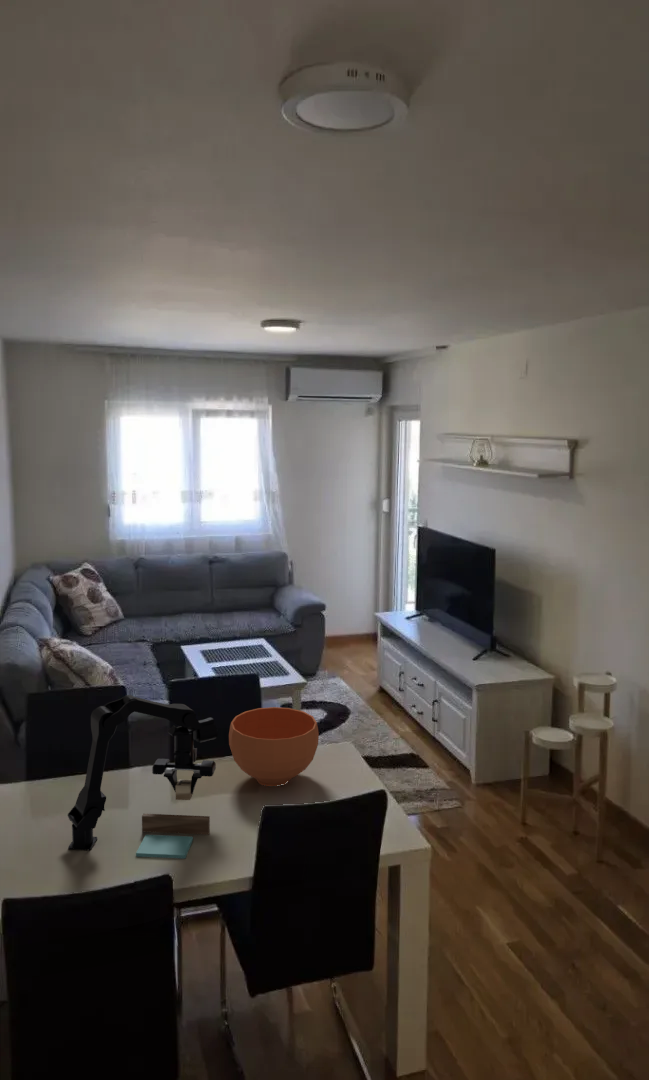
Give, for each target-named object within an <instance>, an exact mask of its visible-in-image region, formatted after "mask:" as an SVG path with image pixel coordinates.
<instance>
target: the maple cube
mask: <svg viewBox="0 0 649 1080" xmlns="http://www.w3.org/2000/svg"><path fill="white" fill-rule="evenodd" d="M191 780H192V779H177V784H176V793H175V800H177V801H191V799H192V797H193V795H194V793H193V794H191Z"/></svg>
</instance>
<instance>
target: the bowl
mask: <svg viewBox="0 0 649 1080" xmlns="http://www.w3.org/2000/svg"><path fill="white" fill-rule="evenodd" d="M319 737H320V734H319V727H318V722H317V720H316V719H315V718H314V716H313V715H311V714H310V713H308V712H305V711H303V710H300V709H295V708H290V707H278V706H272V707H258V708H253V709H250V710H246V711H244V712H243V711H242V712H241V713H240V714H238V715H235V717H234V718H233V719H232V721H231V722H230V725H229V732H228V745H229V748H230V750H231V752H230V753H231V754H232V758H233V760H234V762H235V763H236V764H237V766H238V767H239V769H240V770H241V771H243V772H244V773H245V774H247V775H248V776H250V777H251V778H254V779H255V780H256V781H257V783H258V784H259V785H261V786H263V785H264V787H267V786H277V785H281V784H285V783H286V782H287V781H289V780H290V781H291V779H294V778H295V777H296V776H298V775H300V774H301V773H302V772H305V770H306V769H308V766H309V765H310V764H311V763H312V761H313V760H314V757H315V755H316V751H317V748H318V745H319ZM290 781H289V782H290ZM265 785H266V786H265Z"/></svg>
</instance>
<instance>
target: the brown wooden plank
mask: <svg viewBox="0 0 649 1080" xmlns="http://www.w3.org/2000/svg"><path fill="white" fill-rule="evenodd" d="M210 817H211V816H209V815H207V816H206V815H188V814H187V815H186V814H185V815H183V814H167V813H166V814H162V813H143V814H142V815H141V826H142V827H141V831H142V832H143V833H157V834H159V833H160V834H161V833H162V834H164V833H165V834H181V835H182V834H185V835H186V834H187V835H206V836H209V835H210V831H211V828H210V826H211V823H210V822H211V821H210V820H211V819H210Z"/></svg>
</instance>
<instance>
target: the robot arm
mask: <svg viewBox="0 0 649 1080" xmlns="http://www.w3.org/2000/svg"><path fill="white" fill-rule="evenodd" d="M133 713H139V714H143V715H147V716H152V717H157V718H161V719H164V720H165V719H166V720H168V721H169V722H172V723H174V724H176V725H178V726H175V725H172V726H171V727H170V728H169V729H168V730H167V733H168V734H169V735H170V736H172V737H174V751H173V756H174V762H170V759H169V758H157V759H156V760H155V762H154V763H153V765H152V767H151V769H152V770H151V771H152V774H153V775H163V777H164V778H166V779H167V780H168V781H169V784H170V785H171V787H172V789H173V790H174V793H175V794H176V784H177V782H178V771H192V772H193V773H192V775H191V779H190V780H191V794H193V795H194V790H195V788H196V785H197V782H198V780H199V779H201V778H202V777H212V776H214V773H215V771H216V768H217V767H216V766H217V765H216V762H215V760H207V759H206V760H205V759H204V760H202V762H201V763H195V762H196V760H197V755H198V747H196V748H195V745H194V741H196V742H197V743H199V744H200V743H204V742H207V741H208V742H209V741H210V740H215V739H217V738H218V734H219V733H218V732H219V731H218V729H217V728H218V727H217V726H216V723H215V719H214V718H213V717H207V718H205V719H200V720H198V719H197V716H196V715H197V714H196V712H195V710H193V709H191V708H190V707H189V706H187V705H186V704H184V703H170V704H169V703H168V704H167V703H162V702H157V701H154V700H149V699H145V698H140V697H136V696H133V695H132V694H126V695H124V696H122V697H121V698H119V699H116V700H113V701H109V702H107V703H105V704H104V705H100V706H98V707H96V708H95V709H93V710H92V712H91V715H90V729H91V730H90V731H91V734H92V735H91V736H92V741H91V746H90V752H89V758H88V764H87V769H86V775H85V781H84V785H83V787H82V788H81V790H80V792H79V793H78V796H77V798H76V801H75V804H74V806H73V807H72V808H71V810H70V811H69V812H68V813H67V817H68V820H69V821H71V823H72V824H71V836H72V837H71V838H72V840H71V842H70V844H69V845H68V847H67V848H68V850H76V851H79V850H81V851H91V850H92V848H93V846H94V845H95V844H96V842H97V840H98V837H97V836H94V829H95V828H97V827H96V826H97V824H98V820H99V819H100V818H101V816H102V814H103V812H105V811H106V809H105V805H106V801H107V796H106V795H105V793H104V792H103V791H102V790H101V789H102V783H103V776H104V770H105V765H106V759H107V754H108V748H109V742H110V740H111V739H112V738H113V736H114V735H115V732H116V730H117V727H118V725H120V724H122V723H123V722H125V720H127V718H129V716H130V715H131V714H133Z"/></svg>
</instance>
